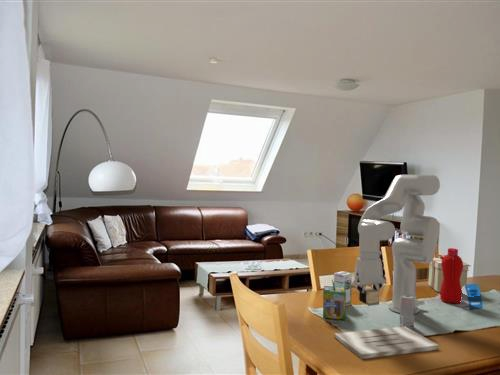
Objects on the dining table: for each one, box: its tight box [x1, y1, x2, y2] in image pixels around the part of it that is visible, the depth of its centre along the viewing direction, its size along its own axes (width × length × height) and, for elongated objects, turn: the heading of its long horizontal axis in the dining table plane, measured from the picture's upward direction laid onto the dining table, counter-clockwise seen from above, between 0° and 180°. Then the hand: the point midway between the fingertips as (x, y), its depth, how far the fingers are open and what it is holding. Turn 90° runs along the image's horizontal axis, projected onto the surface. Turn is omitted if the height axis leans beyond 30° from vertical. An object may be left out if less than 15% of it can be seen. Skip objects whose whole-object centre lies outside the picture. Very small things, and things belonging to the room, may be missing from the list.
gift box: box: [427, 254, 471, 293], centre depth 223 cm, size 17×18×17 cm
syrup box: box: [333, 270, 353, 307], centre depth 194 cm, size 6×6×14 cm
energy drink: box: [398, 295, 415, 330], centre depth 167 cm, size 5×5×12 cm
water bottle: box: [439, 247, 463, 304], centre depth 201 cm, size 9×11×25 cm
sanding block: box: [358, 285, 380, 307], centre depth 166 cm, size 7×4×5 cm, turn 17°
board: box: [334, 326, 440, 360], centre depth 151 cm, size 30×18×2 cm, turn 107°
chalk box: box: [322, 279, 347, 321], centre depth 178 cm, size 9×9×15 cm
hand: (368, 300), depth 166 cm, fingers closed on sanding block, 4 cm apart
